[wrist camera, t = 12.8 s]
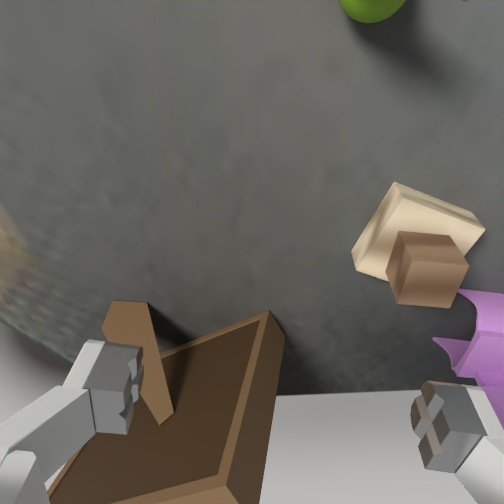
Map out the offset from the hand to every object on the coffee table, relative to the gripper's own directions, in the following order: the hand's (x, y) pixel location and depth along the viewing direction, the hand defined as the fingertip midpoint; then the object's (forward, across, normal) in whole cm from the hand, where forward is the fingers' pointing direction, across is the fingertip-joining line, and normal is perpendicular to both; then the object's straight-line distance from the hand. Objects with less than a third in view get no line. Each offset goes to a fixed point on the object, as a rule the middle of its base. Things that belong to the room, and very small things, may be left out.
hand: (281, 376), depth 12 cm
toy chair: (+31, -27, +22) cm, 47 cm away
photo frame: (+31, +8, +29) cm, 43 cm away
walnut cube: (+27, -16, +12) cm, 34 cm away
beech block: (+32, -16, +12) cm, 37 cm away
